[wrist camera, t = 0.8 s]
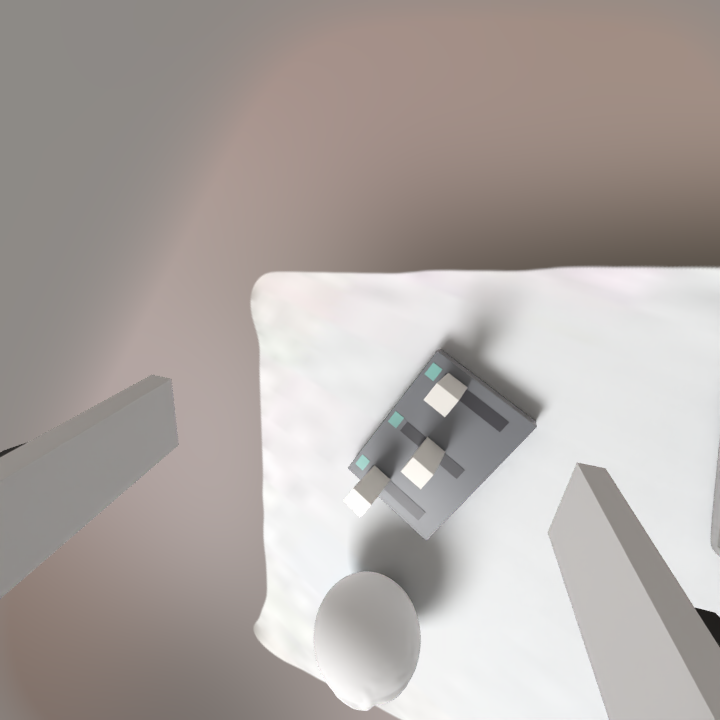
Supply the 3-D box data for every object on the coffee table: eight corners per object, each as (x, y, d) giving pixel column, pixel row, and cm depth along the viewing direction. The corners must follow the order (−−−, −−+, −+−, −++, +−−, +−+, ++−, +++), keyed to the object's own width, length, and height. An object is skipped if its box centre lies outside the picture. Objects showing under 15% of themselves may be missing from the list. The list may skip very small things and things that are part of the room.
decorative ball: (359, 639, 49) (314, 733, 38) (331, 554, 49) (277, 623, 38) (444, 641, 44) (420, 749, 33) (412, 546, 44) (378, 623, 33)
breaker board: (535, 421, 37) (536, 427, 35) (430, 531, 43) (426, 541, 41) (440, 349, 40) (437, 351, 38) (354, 461, 46) (347, 468, 44)
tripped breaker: (445, 451, 39) (433, 475, 33) (434, 464, 39) (420, 489, 34) (427, 436, 39) (412, 457, 34) (416, 449, 40) (400, 471, 34)
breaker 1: (390, 479, 42) (371, 505, 36) (380, 491, 42) (360, 517, 37) (374, 465, 42) (353, 488, 37) (365, 476, 43) (343, 500, 37)
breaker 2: (467, 387, 37) (459, 400, 31) (455, 402, 38) (444, 417, 32) (448, 372, 37) (436, 382, 32) (436, 387, 38) (423, 399, 33)
